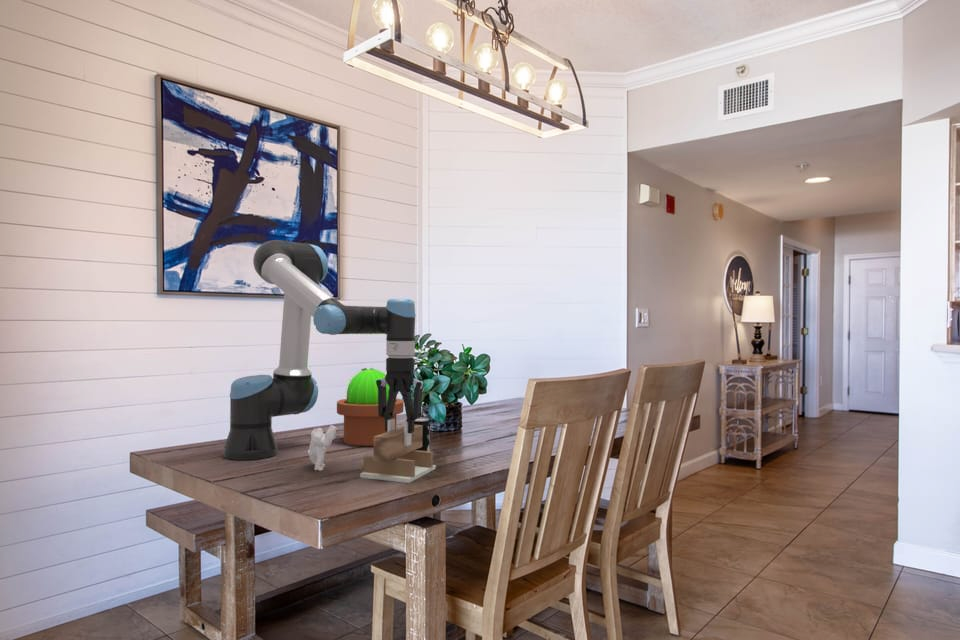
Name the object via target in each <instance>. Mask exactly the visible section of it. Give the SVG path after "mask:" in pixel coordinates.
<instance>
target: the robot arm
mask: <svg viewBox="0 0 960 640" xmlns="http://www.w3.org/2000/svg"><path fill="white" fill-rule="evenodd" d="M252 261H253V263H252V265H253V268H254V270H255V273H257V274H258V276H259V277H260V278H261V279H262V280H264V282H266V283H267V284H269V285H270V284H271V285H275V286H276V287H277V288H279V290H281V291H282V292H283V293H284V294H283V295H284V296H283V307H282V309H283V310H282V319H281V320H282V323H281V335H280V345H279V346H280V349H279V350H280V351H279V363H278V366H277V368H275V369H274V370H273V373H272V374H273V375H270V374H257V375H248V376H243V377H239V378H236V379H235V380H233V382H231V385H230V392H229V393H230V394H229V398H230V400H229V401H230V402H229V403H230V405H229V406H230V411H229V432H228V435H227V438H226V441H225V446H224V447H223V455H222V456H223V458H224V459H227V460H236V461H250V460H252V461H253V460H260V459H267V458H270V457H274V456H276V455H277V454H278V444H277V442H276V438H275V435H274V432H273V429H272V424H273V423H272V422H273V421H272V420H273V417H275V418H276V417H279V416H280V417H282V416H291V415H294V416H295V415H299V414H302V413H306V412H310V410H311V409H312V408H313V407H314V406H315V405H316V403H317V401H318V398H319V386H318V385H317V380H315V378H314V377H312V375H313V374H312V371H311V370H310V369H309V368H308V361H309V352H310V351H309V348H310V338H311V337H310V336H311V324H312V323H311V322H312V318H313V325H314V326H315V330H316V331H317V332H318V333H321V334H323V335H330V336H336V335H386V339H385V340H386V342H385V343H386V344H385V345H386V348H385V350H386V352H385V354H386V356H387V358H386V360H385V372H386V373H385V375H386V376H385V378H384V379H381V380H377V381H376V384H377V387H378V415H379V417H383V418H384V419H385V431H388V432H389V431H392V430H395V419H392V418H393V417H394V416H393V412H394V407H395V402H396V398H398V397H397V396H398V394H399V392H400V393H401V396H402V400H403V401H404V410H405V416H406V419H405V420H404V422H403V427H404V446H409V445H411V433H413V432H414V421H415V420H416V419H418V418H422V413H423V412H422V407H423V406H422V405H423V389H424V387H425V385H426V384H425V383H426V382H425V381H423V380H419V379H416V376H415V358H414V357H413V356H415V354H416V353H415V352H416V350H415V349H416V348H415V347H416V346H415V345H416V344H415V342H416V340H415V335H416V334H415V333H416V331H415V330H416V317H417V315H416V307H415V301H414V300H413V299H410V298H409V299H408V298H389V299H387V301H386V306H372V305H370V306H365V305H364V306H362V305H346V304H345V305H344V304H343V303H341V302H340V301H339V300H338V299H336V298H335V297H334V296H332V295H331V294H330V293H329V292H327V291H326V290H325V289H324V288H322V287H321V286H320V282H322V281H323V280H325V278H326V276H327V275H328V271H329V262H328V257H327V255H326V253H325V252H324V251H323V249H322V248H321V247H319V245H316V244H315V245H314V244H312V243H311V244H310V243H306V242H304V243H303V242H295V241H289V240H281V239H280V240H279V239H274V240H268V241H265V242H263V243H262V244H261V245H259V247H258V248H257V249H256V250H255V252H254V254H253V259H252ZM387 384H388V385H389V392H388V394H389V396H388V401H387V395H386V385H387ZM412 386H413V388H414V390H413V397H412Z"/></svg>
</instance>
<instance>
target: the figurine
mask: <svg viewBox="0 0 960 640" xmlns="http://www.w3.org/2000/svg"><path fill="white" fill-rule="evenodd" d="M337 430H338V427H337V426H334V425H329V427H328V429H327V431H325V433H324V432H323V428H322V427H318V428H314V429H313V430H311V433H310V440H311V441H310V442H309V449H308V450H307V455H308V456H309V461H311V462H312V464H314V471H317V470H318V471H320V472H321V471H324V467H326V464H325V463H324V461H325V454H326V452H327V447H330V446H331V444H332V441H333V440H335V438H336V436H337V434H336V432H337Z"/></svg>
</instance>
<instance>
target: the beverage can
mask: <svg viewBox="0 0 960 640" xmlns="http://www.w3.org/2000/svg"><path fill="white" fill-rule="evenodd" d="M429 420H430V419H429V418H427V417H421V418H418V419H416V420H415V421H414V425H423V438H422V447H421V448H418V449H416V450H419V451H430V452H431V423H430V421H429Z"/></svg>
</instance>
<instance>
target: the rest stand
mask: <svg viewBox="0 0 960 640" xmlns="http://www.w3.org/2000/svg"><path fill="white" fill-rule="evenodd" d="M436 469H437V465H436V464H434V451H431V450H430V451H419V450H414V451H411V452H409V453H407V454H404V455H402V456H400V457H397V458H395V459H393V460H390V461H388V462H384V461H375V460H373V455H365V456H363V471H362V472H360V476H359V477H360V478H362V479H371V480H380V481H388V482H396V483H397V482H398V483H406V484H409V483H411V482H414V481H415V480H417V479H419V478H421V477H423V476H425V475H426V474H428V473H430V472H432V471H434V470H436Z"/></svg>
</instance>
